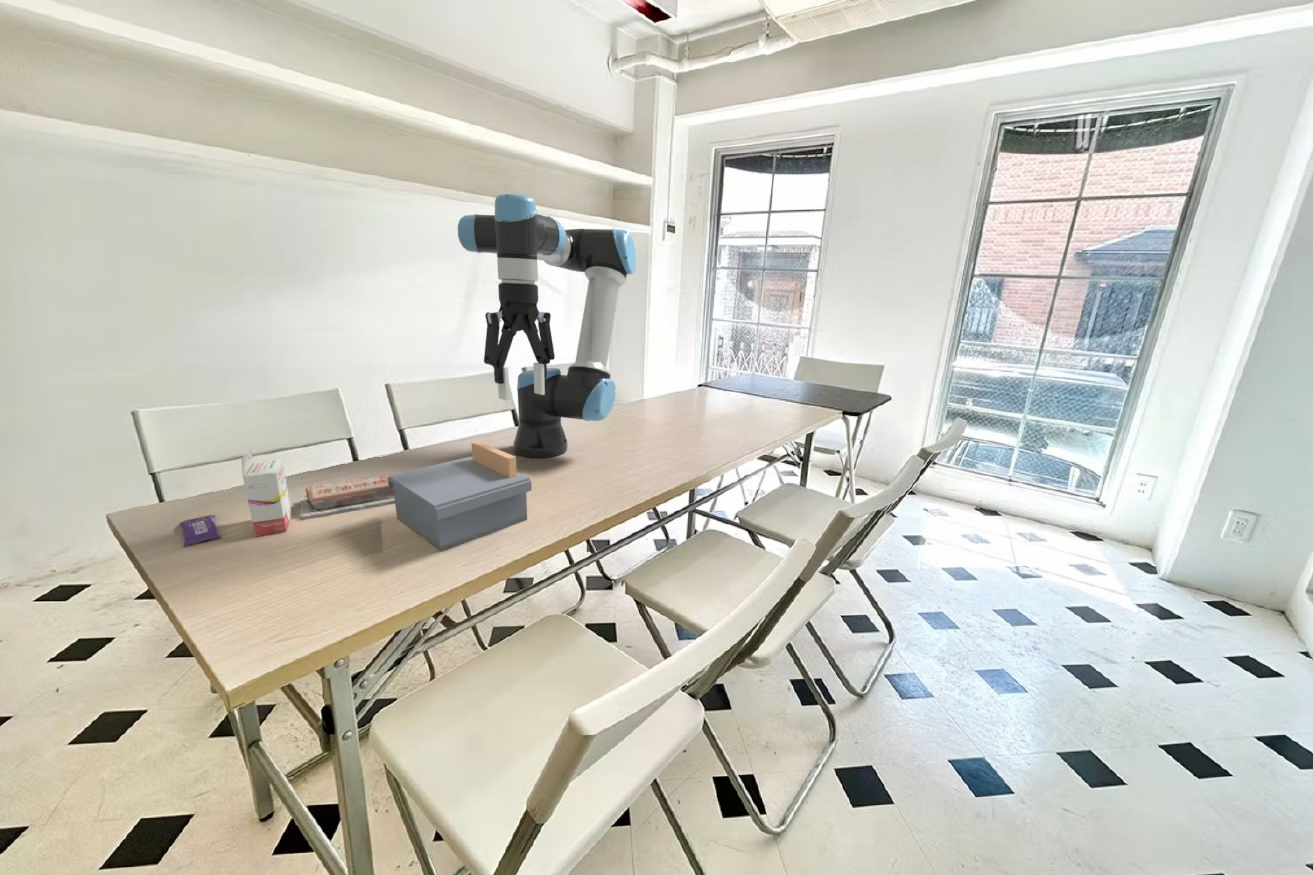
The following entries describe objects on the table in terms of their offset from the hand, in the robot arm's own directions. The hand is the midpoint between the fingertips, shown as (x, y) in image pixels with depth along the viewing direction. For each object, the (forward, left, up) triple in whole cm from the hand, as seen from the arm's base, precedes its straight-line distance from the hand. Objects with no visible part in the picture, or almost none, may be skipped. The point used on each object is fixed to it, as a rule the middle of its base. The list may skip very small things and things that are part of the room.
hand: (522, 396), depth 104 cm
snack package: (+51, -28, -24) cm, 63 cm away
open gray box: (+15, 0, -23) cm, 28 cm away
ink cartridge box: (+41, -22, -23) cm, 52 cm away
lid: (+15, 0, -17) cm, 22 cm away
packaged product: (+27, -23, -24) cm, 43 cm away
